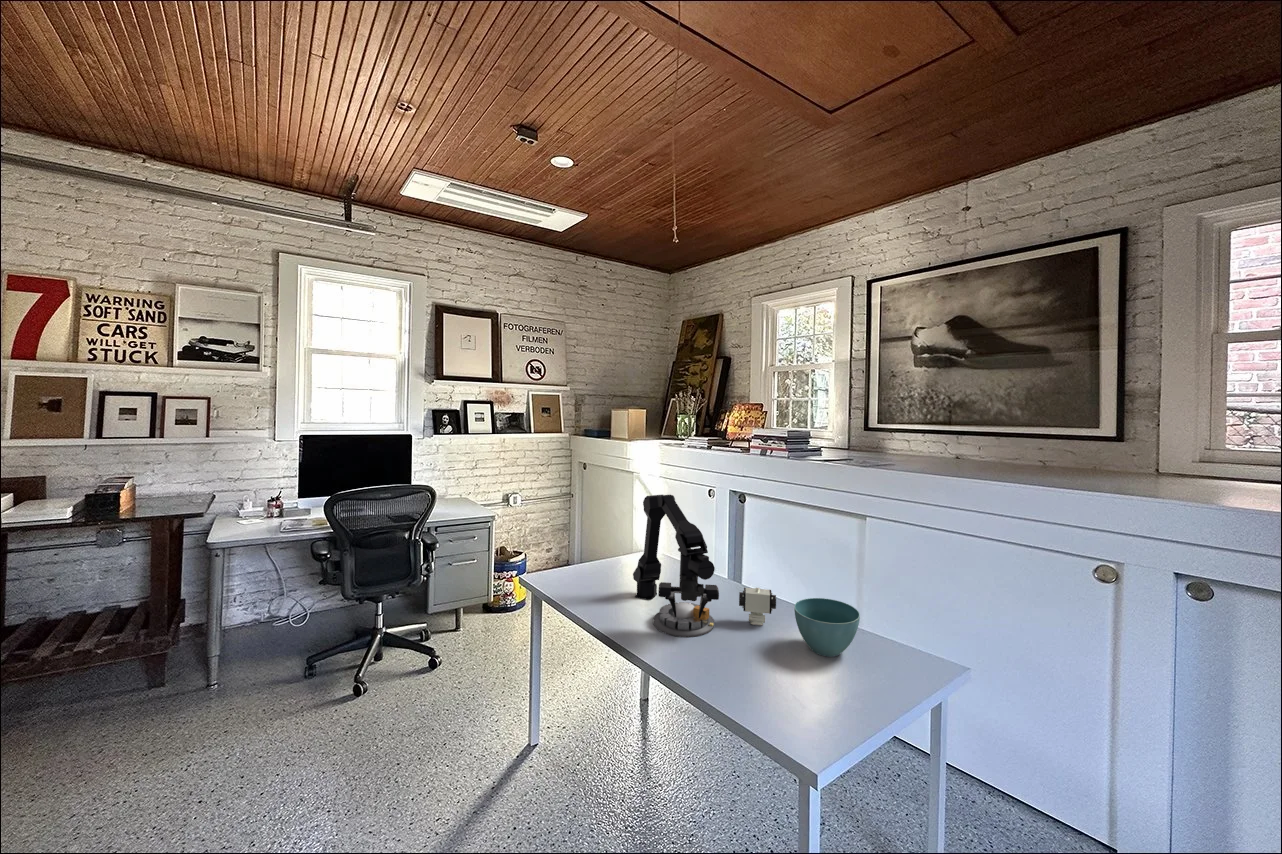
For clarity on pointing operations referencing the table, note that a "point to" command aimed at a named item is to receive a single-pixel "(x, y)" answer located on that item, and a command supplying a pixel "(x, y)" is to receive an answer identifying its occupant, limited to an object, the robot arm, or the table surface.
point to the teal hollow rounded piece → (826, 624)
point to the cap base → (682, 632)
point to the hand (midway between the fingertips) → (687, 617)
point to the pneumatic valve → (757, 604)
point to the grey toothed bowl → (683, 623)
